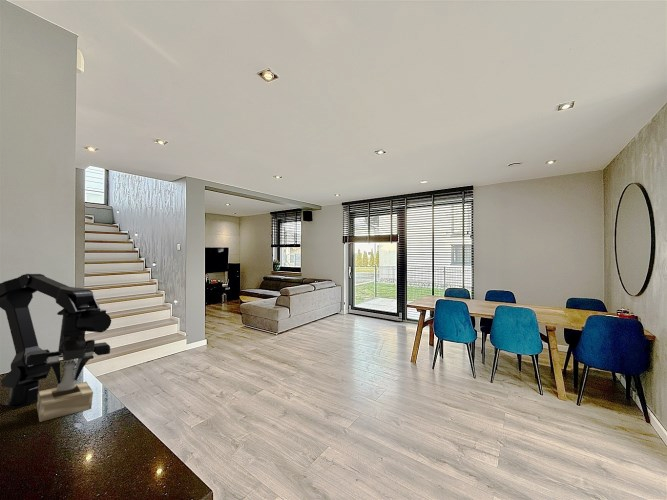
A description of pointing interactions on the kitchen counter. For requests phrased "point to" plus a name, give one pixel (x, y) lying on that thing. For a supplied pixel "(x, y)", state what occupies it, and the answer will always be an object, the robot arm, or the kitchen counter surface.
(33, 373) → the robot arm
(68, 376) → the rook chess piece
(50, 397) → the box
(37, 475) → the kitchen counter surface
